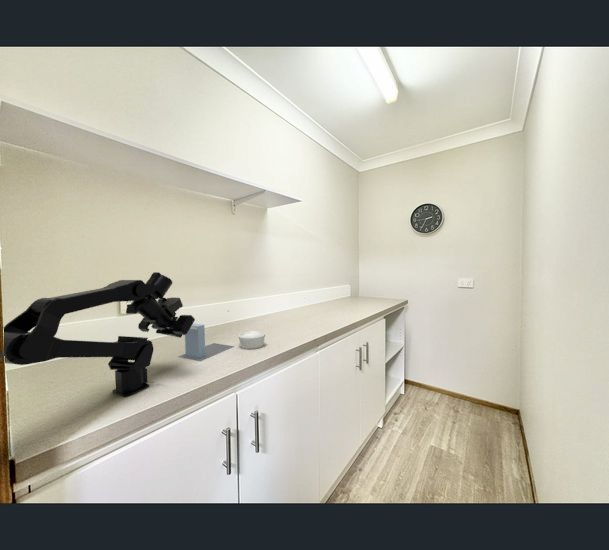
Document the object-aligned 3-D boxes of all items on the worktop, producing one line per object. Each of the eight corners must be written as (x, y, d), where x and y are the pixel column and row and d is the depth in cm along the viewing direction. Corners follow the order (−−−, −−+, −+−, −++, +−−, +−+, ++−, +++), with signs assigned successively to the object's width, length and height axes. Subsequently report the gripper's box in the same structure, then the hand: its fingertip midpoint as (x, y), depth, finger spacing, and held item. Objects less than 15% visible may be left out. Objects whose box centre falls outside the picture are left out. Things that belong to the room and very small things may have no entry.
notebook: (198, 358, 90) (197, 326, 89) (185, 356, 93) (184, 324, 92) (205, 356, 93) (204, 324, 92) (192, 353, 96) (191, 323, 95)
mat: (200, 362, 87) (200, 361, 87) (177, 357, 93) (177, 356, 93) (234, 347, 104) (234, 346, 104) (213, 343, 109) (213, 343, 109)
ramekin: (241, 342, 110) (241, 331, 110) (266, 342, 110) (266, 330, 110) (235, 351, 99) (235, 338, 99) (263, 350, 99) (263, 337, 99)
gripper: (189, 290, 78) (213, 318, 88) (145, 289, 83) (172, 316, 94) (170, 320, 70) (198, 346, 81) (122, 317, 76) (155, 342, 87)
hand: (180, 336), depth 86 cm, fingers closed
